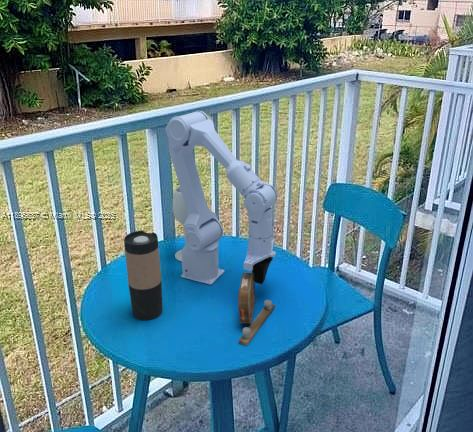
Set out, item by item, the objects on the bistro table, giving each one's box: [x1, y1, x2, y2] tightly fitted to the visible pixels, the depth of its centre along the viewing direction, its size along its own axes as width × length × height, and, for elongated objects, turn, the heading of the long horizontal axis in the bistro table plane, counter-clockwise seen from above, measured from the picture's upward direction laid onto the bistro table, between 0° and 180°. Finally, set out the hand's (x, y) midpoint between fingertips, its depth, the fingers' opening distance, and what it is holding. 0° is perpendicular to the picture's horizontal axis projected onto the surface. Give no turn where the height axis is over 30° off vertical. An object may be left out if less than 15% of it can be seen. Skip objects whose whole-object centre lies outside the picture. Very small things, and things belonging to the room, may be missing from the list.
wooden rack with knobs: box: [238, 299, 276, 347], centre depth 110 cm, size 2×16×3 cm, turn 154°
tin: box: [237, 271, 256, 325], centre depth 113 cm, size 15×3×8 cm, turn 173°
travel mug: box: [123, 230, 163, 321], centre depth 111 cm, size 8×8×20 cm
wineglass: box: [172, 186, 188, 262], centre depth 137 cm, size 9×9×21 cm
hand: (259, 282), depth 121 cm, fingers closed
